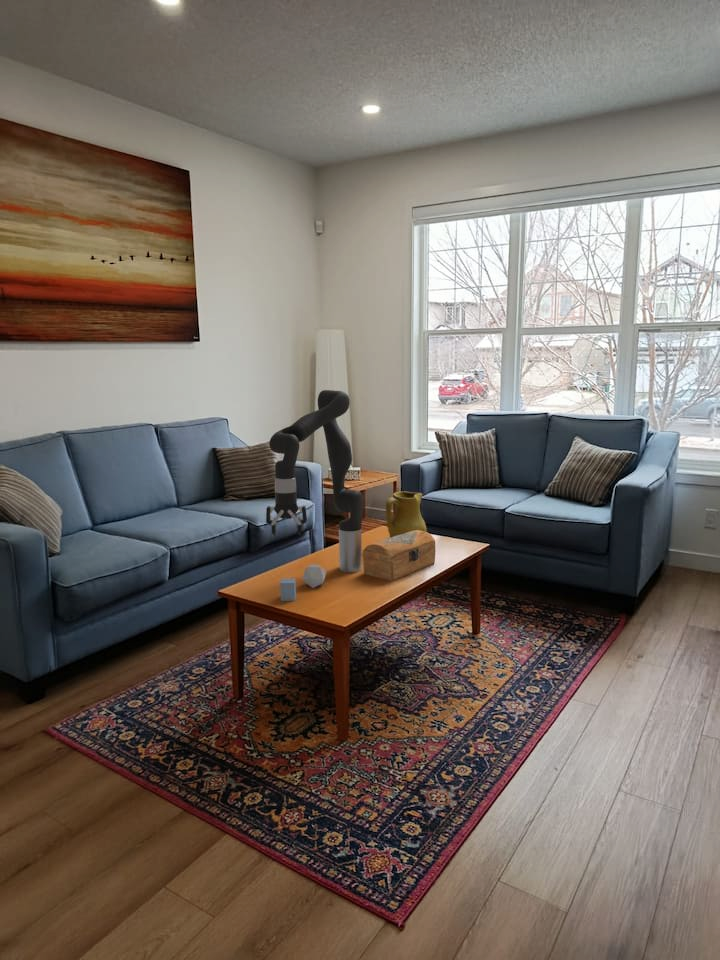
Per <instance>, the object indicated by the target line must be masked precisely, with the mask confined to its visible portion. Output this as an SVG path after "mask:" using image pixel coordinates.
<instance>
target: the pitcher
mask: <svg viewBox="0 0 720 960" xmlns="http://www.w3.org/2000/svg"><path fill="white" fill-rule="evenodd" d="M423 496H424V494H423V493H421V492H412V491H406V490H404V491H395V492H394V493H393V497H389V498H387V500H386V502H385V517H386V518H385V519H386V523H387V524H386V527H387V530H388V531H387V532H388V533H389V534H388V535H389V538H391V537H394V536H397V535H401V534H404V533H408V532H411V531H415V530H420V531H425V532H428V531H427V529H428V528H427V525H426V522H425V520H424V518H423V517H422V513H421V502H422V497H423ZM393 504H395V509H394V514H393V516H392V509H393Z"/></svg>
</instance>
